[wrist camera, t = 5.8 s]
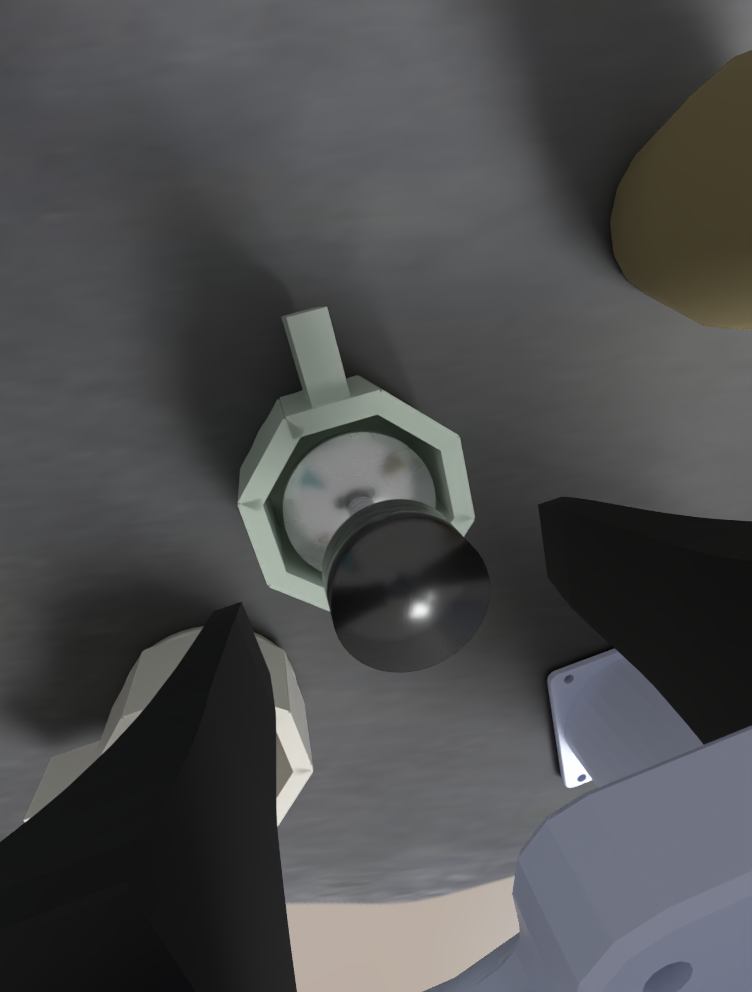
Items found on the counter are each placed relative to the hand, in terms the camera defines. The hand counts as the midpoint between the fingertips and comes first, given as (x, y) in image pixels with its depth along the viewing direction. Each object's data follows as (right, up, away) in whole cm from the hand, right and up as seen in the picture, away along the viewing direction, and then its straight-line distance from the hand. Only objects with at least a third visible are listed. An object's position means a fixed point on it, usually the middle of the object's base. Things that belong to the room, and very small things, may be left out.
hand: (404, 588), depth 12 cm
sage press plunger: (-1, +2, +5) cm, 6 cm away
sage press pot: (-2, +4, +8) cm, 9 cm away
